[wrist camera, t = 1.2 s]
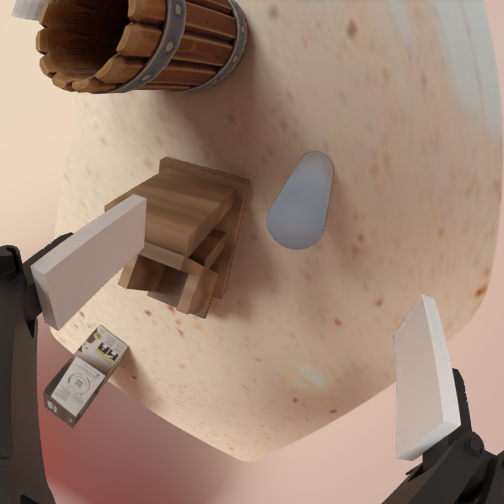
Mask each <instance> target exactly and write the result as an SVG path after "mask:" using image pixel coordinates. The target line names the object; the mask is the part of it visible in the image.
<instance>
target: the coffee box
mask: <svg viewBox="0 0 504 504" xmlns="http://www.w3.org/2000/svg"><path fill="white" fill-rule="evenodd" d="M127 348H128V346H127V345H126V344H124V343H123V342H122V341H120V340H119V339H118V338H117V337H115V336H114V335H113V334H112V333H110V332H109V331H108V330H107V329H105V328H104V327H103V326H102V325H99V326H98V327H97V329H96V330H95V331H94V332H93V333H92V334H91V335H90V336H89V338H88V339H87V340H86V341H85V342H84V343H83V344H82V345H81V347H80V348H79V349H78V350H77V351H76V352H75V354H74V355H73V356H72V357H71V358H70V359H69V361H68V362H67V363H66V364H65V365H64V366H63V368H62V369H61V370H60V371H59V372H58V374H57V375H56V376H55V377H54V378H53V379H52V381H51V382H50V383H49V384H48V386H47V387H46V388H45V389H44V390H43V395H44V404H45V407H46V408H47V409H49V410H50V411H51V412H52V413H53V414H55V415H56V416H57V417H59V418H60V419H61V420H63V421H65V422H66V423H67V424H68V425H70V426H71V427H72V428H74V427H75V426H76V424H77V423H78V421H79V420H80V418H81V417H82V416H83V414H84V413H85V411H86V410H87V408H88V407H89V405H90V404H91V403H92V401H93V400H94V398H95V397H96V396H97V394H98V393H99V391H100V390H101V389H102V387H103V386H104V384H105V383H106V382H107V380H108V379H109V377H110V376H111V375H112V373H113V372H114V370H115V369H116V368H117V366H118V365H119V363H120V361H121V359H122V357H123V355H124V354H125V352H126V350H127Z"/></svg>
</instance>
